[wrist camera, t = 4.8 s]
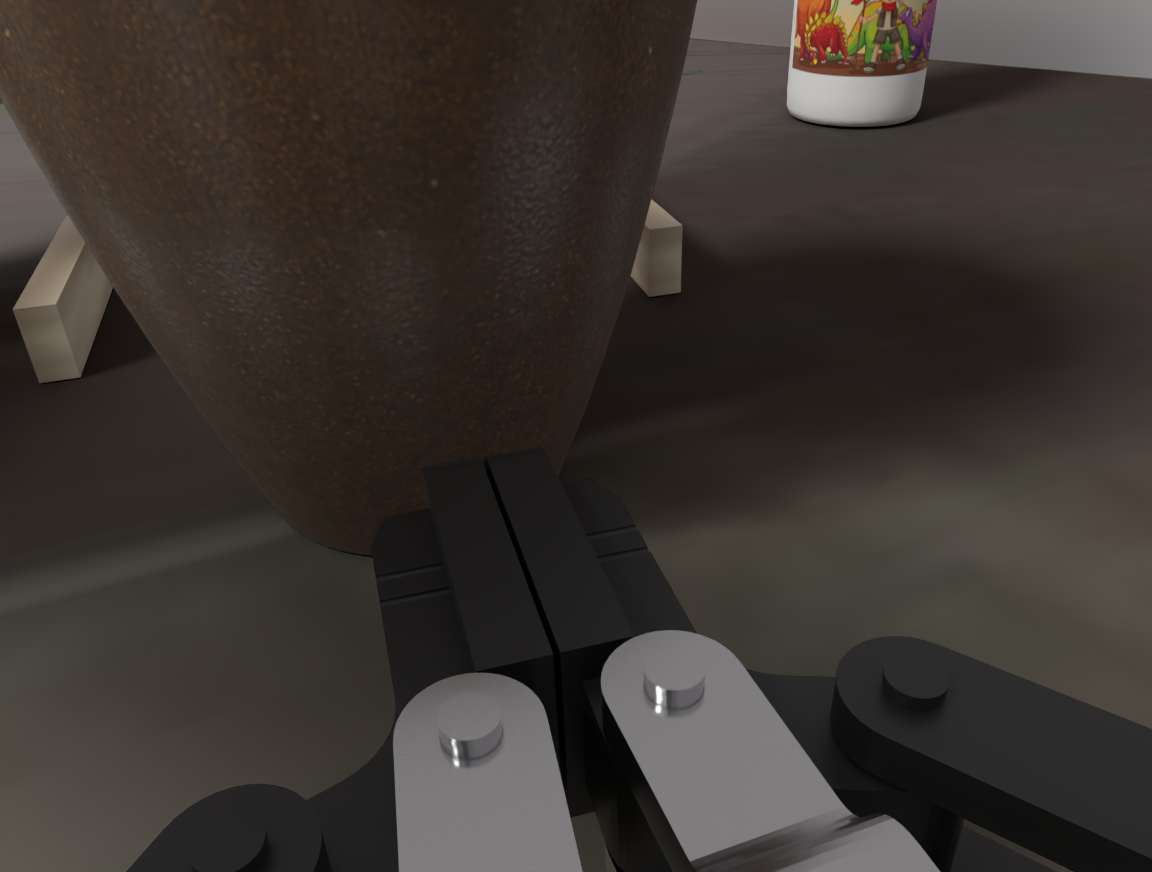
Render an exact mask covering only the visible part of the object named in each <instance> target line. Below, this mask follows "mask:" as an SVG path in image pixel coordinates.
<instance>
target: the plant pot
mask: <svg viewBox="0 0 1152 872" xmlns="http://www.w3.org/2000/svg"><path fill="white" fill-rule="evenodd" d="M696 3H697V0H0V98H1V100H2V102H3V103H4V105H5V107H6V109H7V111H8V112H9V114H10V116H11V118H12V120H13V122H14V123H15V125H16V127H17V129H18V131H19V132H20V134H21V136H22V138H23V139H24V141H25V143H26V145H27V146H28V148H29V150H30V151H31V153H32V155H33V156H34V158H35V160H36V162H37V163H38V165H39V167H40V168H41V170H42V172H43V173H44V175H45V177H46V179H47V180H48V182H49V184H50V185H51V187H52V189H53V191H54V192H55V194H56V196H57V198H58V199H59V201H60V203H61V205H62V206H63V208H64V209H65V211H66V213H67V214H68V216H69V217H70V219H71V221H72V222H73V224H74V225H75V227H76V229H77V230H78V232H79V233H80V235H81V237H82V238H83V240H84V241H85V243H86V245H87V246H88V248H89V249H90V251H91V253H92V254H93V256H94V257H95V259H96V261H97V262H98V264H99V265H100V267H101V268H102V270H103V272H104V273H105V275H106V276H107V278H108V280H109V281H110V283H111V284H112V286H113V288H114V289H115V291H116V292H117V294H118V295H119V297H120V298H121V300H122V301H123V303H124V304H125V306H126V307H127V309H128V310H129V312H130V313H131V315H132V316H133V318H134V319H135V321H136V322H137V324H138V325H139V327H140V328H141V330H142V331H143V333H144V334H145V336H146V337H147V339H148V340H149V342H150V343H151V345H152V346H153V348H154V349H155V351H156V352H157V353H158V355H159V356H160V358H161V359H162V361H163V362H164V364H165V365H166V366H167V368H168V369H169V371H170V372H171V374H172V375H173V377H174V378H175V380H176V381H177V382H178V384H179V385H180V387H181V388H182V389H183V391H184V392H185V393H186V395H187V396H188V397H189V399H190V400H191V401H192V403H193V404H194V406H195V407H196V408H197V410H198V411H199V412H200V414H201V415H202V416H203V418H204V419H205V420H206V422H207V423H208V424H209V426H210V427H211V428H212V430H213V431H214V432H215V434H216V435H217V436H218V438H219V439H220V440H221V442H222V443H223V444H224V446H225V447H226V448H227V450H228V451H229V452H230V454H231V455H232V456H233V457H234V459H235V460H236V461H237V462H238V464H239V465H240V466H241V467H242V469H243V470H244V471H245V472H246V473H247V475H248V476H249V477H250V478H251V480H252V481H253V482H254V483H255V485H256V486H257V487H258V488H259V489H260V491H261V492H262V493H263V494H264V495H265V497H266V498H267V499H268V500H269V501H270V503H271V504H272V505H273V506H274V507H275V509H276V510H277V511H278V512H279V513H280V515H281V516H282V517H283V518H284V519H285V521H286V522H287V523H288V524H289V525H290V526H291V527H293V528H294V529H295V530H296V531H298V532H299V533H301V534H302V535H304V536H306V537H308V538H309V539H311V540H313V541H315V542H317V543H320V544H322V545H325V546H328V547H331V548H334V549H338V550H342V551H346V552H350V553H356V554H362V555H372V549H371V545H372V543H373V540H374V538H375V536H376V534H377V532H378V530H379V528H380V526H381V523H382V521H383V519H384V517H385V516H390V515H395V514H401V513H406V512H412V511H417V510H423V509H426V507H425V500H424V493H423V486H422V477H421V468H424V467H429V466H435V465H441V464H447V463H452V462H458V461H464V460H470V459H476V458H480V459H481V460H482V462H483V459H484V457H486V456H492V455H497V454H503V453H509V452H515V451H520V450H526V449H532V448H538V447H543V448H544V450H545V451H546V453H547V455H548V457H549V459H550V462H551V464H552V466H553V468H554V470H555V472H556V474H557V476H559V474H560V472H561V469H562V467H563V464H564V462H565V460H566V457H567V455H568V452H569V450H570V447H571V445H572V442H573V440H574V437H575V435H576V432H577V430H578V427H579V425H580V422H581V420H582V417H583V415H584V412H585V410H586V407H587V405H588V402H589V399H590V396H591V393H592V391H593V388H594V385H595V382H596V380H597V377H598V374H599V371H600V368H601V366H602V363H603V360H604V357H605V354H606V351H607V348H608V345H609V342H610V339H611V336H612V333H613V330H614V327H615V324H616V321H617V318H618V315H619V311H620V308H621V305H622V302H623V299H624V296H625V293H626V290H627V286H628V283H629V279H630V276H631V272H632V269H633V265H634V262H635V258H636V254H637V251H638V247H639V244H640V240H641V236H642V233H643V229H644V225H645V221H646V218H647V214H648V210H649V206H650V203H651V199H652V195H653V191H654V187H655V184H656V180H657V176H658V172H659V168H660V164H661V160H662V156H663V152H664V148H665V144H666V139H667V135H668V131H669V127H670V122H671V118H672V114H673V110H674V106H675V101H676V97H677V93H678V89H679V84H680V80H681V76H682V71H683V67H684V63H685V58H686V54H687V49H688V44H689V39H690V34H691V29H692V24H693V19H694V14H695V9H696ZM372 556H373V555H372Z"/></svg>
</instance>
